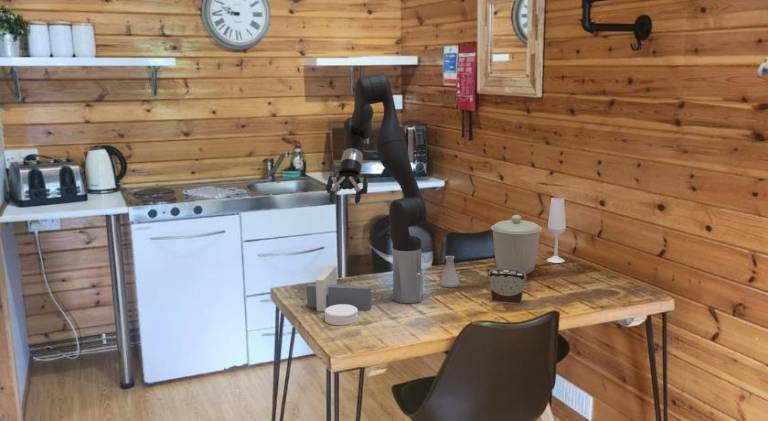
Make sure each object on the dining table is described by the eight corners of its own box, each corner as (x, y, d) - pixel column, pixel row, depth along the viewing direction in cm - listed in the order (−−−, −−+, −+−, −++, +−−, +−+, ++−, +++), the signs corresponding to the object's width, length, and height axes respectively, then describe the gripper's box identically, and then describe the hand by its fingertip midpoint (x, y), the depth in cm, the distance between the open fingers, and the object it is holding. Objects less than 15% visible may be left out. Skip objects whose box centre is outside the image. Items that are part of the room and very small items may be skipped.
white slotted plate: (330, 294, 234) (329, 265, 232) (337, 294, 234) (336, 265, 232) (316, 310, 219) (315, 279, 217) (324, 311, 219) (323, 280, 216)
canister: (503, 262, 269) (504, 208, 265) (548, 269, 258) (550, 213, 254) (481, 273, 254) (482, 216, 250) (527, 281, 244) (529, 222, 240)
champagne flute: (565, 258, 272) (567, 197, 267) (563, 263, 266) (565, 200, 261) (548, 257, 274) (549, 196, 269) (545, 261, 268) (547, 200, 263)
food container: (528, 298, 227) (529, 268, 225) (525, 304, 221) (526, 274, 219) (490, 295, 231) (490, 265, 229) (487, 301, 225) (487, 271, 223)
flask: (436, 286, 240) (436, 258, 238) (442, 280, 247) (442, 253, 245) (456, 289, 238) (457, 260, 236) (462, 283, 244) (463, 255, 242)
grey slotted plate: (371, 307, 221) (370, 286, 219) (369, 310, 218) (368, 288, 217) (309, 304, 225) (308, 283, 223) (307, 307, 222) (306, 286, 221)
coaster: (360, 324, 207) (360, 313, 207) (327, 327, 205) (326, 316, 205) (355, 313, 217) (354, 302, 216) (322, 316, 215) (322, 305, 214)
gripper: (329, 157, 248) (321, 195, 239) (369, 158, 245) (362, 196, 237) (333, 170, 254) (326, 207, 246) (372, 171, 252) (366, 208, 243)
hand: (344, 202), depth 241 cm, fingers open, 8 cm apart
